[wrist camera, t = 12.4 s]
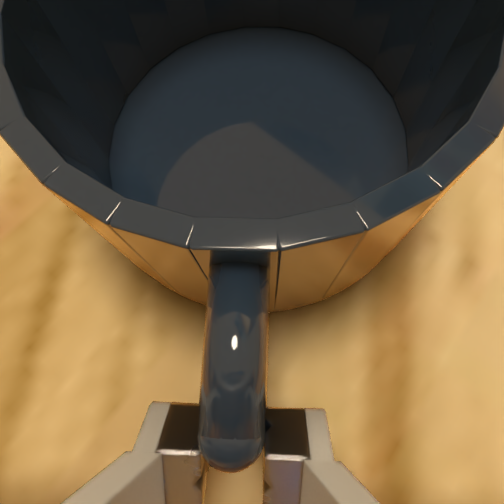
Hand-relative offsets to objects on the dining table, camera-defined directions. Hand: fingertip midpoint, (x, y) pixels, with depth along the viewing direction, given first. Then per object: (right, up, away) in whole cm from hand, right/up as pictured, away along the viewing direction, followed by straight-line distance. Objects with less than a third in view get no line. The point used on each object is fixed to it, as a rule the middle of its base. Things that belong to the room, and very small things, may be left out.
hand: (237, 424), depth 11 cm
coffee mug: (0, +6, +6) cm, 9 cm away
